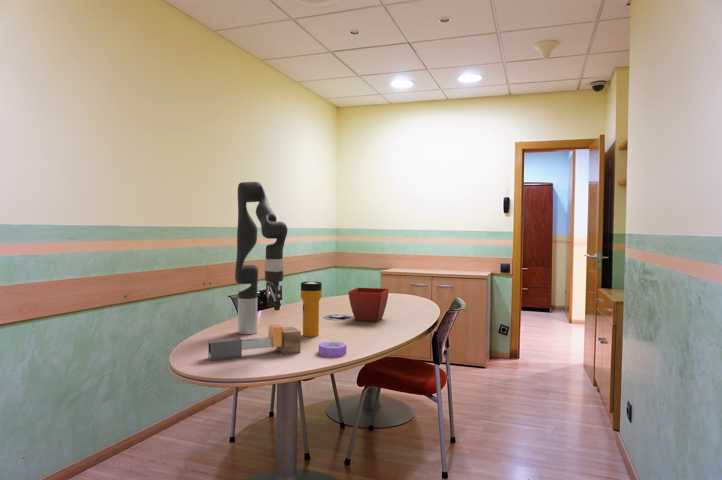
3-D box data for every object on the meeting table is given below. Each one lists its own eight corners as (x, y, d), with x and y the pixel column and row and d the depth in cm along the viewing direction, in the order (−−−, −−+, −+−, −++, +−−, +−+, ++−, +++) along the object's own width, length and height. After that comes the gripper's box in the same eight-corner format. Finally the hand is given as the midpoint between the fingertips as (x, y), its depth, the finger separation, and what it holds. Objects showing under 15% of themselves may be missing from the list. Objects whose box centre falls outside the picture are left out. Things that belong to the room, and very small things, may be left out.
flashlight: (324, 282, 236) (303, 283, 233) (323, 336, 237) (303, 338, 234) (318, 280, 246) (298, 281, 242) (317, 332, 246) (298, 333, 243)
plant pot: (347, 321, 276) (347, 291, 275) (357, 315, 294) (357, 287, 294) (380, 323, 270) (381, 293, 270) (388, 317, 289) (389, 288, 288)
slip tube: (232, 347, 203) (232, 327, 202) (286, 342, 213) (286, 323, 213) (236, 351, 197) (236, 331, 197) (291, 345, 208) (291, 326, 207)
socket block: (276, 348, 213) (276, 328, 213) (292, 347, 217) (292, 326, 216) (284, 354, 204) (284, 332, 204) (300, 352, 208) (300, 331, 207)
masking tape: (346, 350, 214) (346, 341, 214) (346, 357, 202) (346, 348, 202) (319, 349, 214) (319, 341, 214) (317, 357, 202) (317, 347, 202)
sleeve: (208, 357, 198) (208, 340, 197) (238, 354, 203) (238, 337, 203) (210, 361, 193) (211, 342, 193) (241, 357, 199) (241, 339, 198)
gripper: (260, 268, 211) (259, 306, 211) (270, 271, 198) (270, 312, 199) (277, 267, 214) (276, 305, 215) (288, 271, 202) (288, 310, 202)
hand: (273, 308), depth 207 cm, fingers open, 8 cm apart
